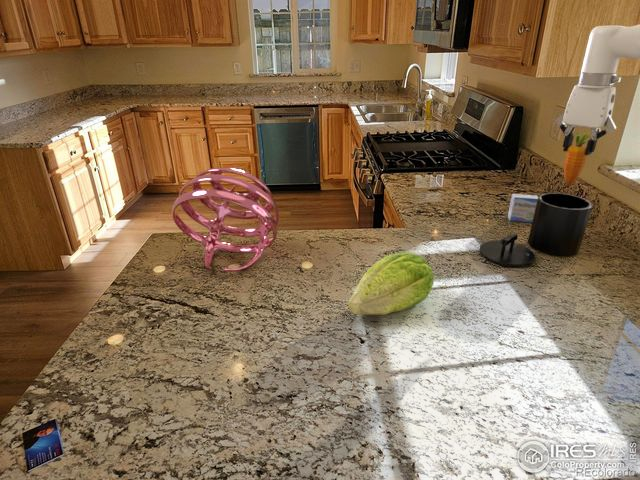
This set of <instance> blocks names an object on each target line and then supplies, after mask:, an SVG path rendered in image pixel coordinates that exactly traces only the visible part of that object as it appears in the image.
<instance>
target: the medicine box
mask: <svg viewBox="0 0 640 480" xmlns="http://www.w3.org/2000/svg"><path fill="white" fill-rule="evenodd" d="M538 196H539V195H537V194H521V193H511V198H510V203H509V208H508V213H507V219H508V220H509V221H510V222H515V223H526V224H528V223H529V224H532V221H533V217H534V213H535V208H536V204H537V200H538Z"/></svg>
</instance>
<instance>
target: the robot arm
mask: <svg viewBox="0 0 640 480" xmlns="http://www.w3.org/2000/svg"><path fill="white" fill-rule="evenodd" d="M621 58H625V59H633V60H640V24H636V25H631V26H624V25H615V24H613V25H597V26H595V27H593V28H592V29H591V30H590V33H589V37H588V41H587V45H586V49H585V53H584V58H583V60H582V66H581V69H580V74H579V79H578V82H577V84H575V85H574V86H573V89H572V91H571V93H570V95H569V98H568V101H567V104H566V106H565V109H564V112H563V113H562V114H561V115H560V116H558V117H557V118H556V119H555V121H554V123H555V124H556V125H557V126H558V127H559V128H560V131H561V132H562V133H563V136H564V139H563V142H562V147H563V149H562V150H563V152H567V149H568V147H570V146H572V145H573V142H574V138H575V137H574V132H575V130H576V128H577V127H579V128H580V127H581V128H587V129H590V137H589V138H590V139H588V140H587V142H586V146H585V147H586V150H585V155H587V156H590V155H592V153H594V152H595V150H596V148H597V143H598V140H599V139H600V138H602V137H603V136H605V135H607V134H609V133H611V132H614V131H616V129H617V126H616V124H615V122H614V120H613V118H612V117H613V111H614V107H615V100H616V92H617V91H616V90H617V87H616V86H614V85H615V84H617V83H620V82H621V80H622V76H618V75H617V70H618V67H619V63H620V59H621ZM604 127H606V128H604ZM602 128H604V129H602ZM601 129H602V130H601Z"/></svg>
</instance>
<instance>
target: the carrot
mask: <svg viewBox="0 0 640 480" xmlns="http://www.w3.org/2000/svg"><path fill="white" fill-rule="evenodd" d="M588 138H591V135H588V133H586V132H583V134H582V135H581V132H576V136H575V144H572V146H570V147H568V149H567V151H566V154H565V157H564V164H563V176H564V183H565V184H566V186H567V187H570V186H572V185H573V184H574V183H575V182H576V180H577V179H578V178H579V176H580V174H581V173H582V170H583V168H584V166H585V164H586V161H587V157H588V155H585V150H586V147H587V146H586V145H584V144H587V139H588Z"/></svg>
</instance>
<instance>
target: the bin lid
mask: <svg viewBox="0 0 640 480" xmlns="http://www.w3.org/2000/svg"><path fill="white" fill-rule="evenodd" d="M518 237H519V234H516V233H513V232H512V233H510V234H508V235H507V236H505V237H503V238H501V240H488V241H485V242H483V243H481V244H480V246H479V249H478V251H479V253H480V255H481V256H482V257H483V258H485V259H486V260H488V261H490V262H493V263H495V264H499V265H501V266H502V265H503V266H507V267H525V266H529V265H531V264H533V263H534V262H535V261H536V254H535V253H534V251H532V250H531V249H530V248H529V247H527V246H525V245H523V244H520V243H518V242H517V243H516V242H515V241H517V240H518Z"/></svg>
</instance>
